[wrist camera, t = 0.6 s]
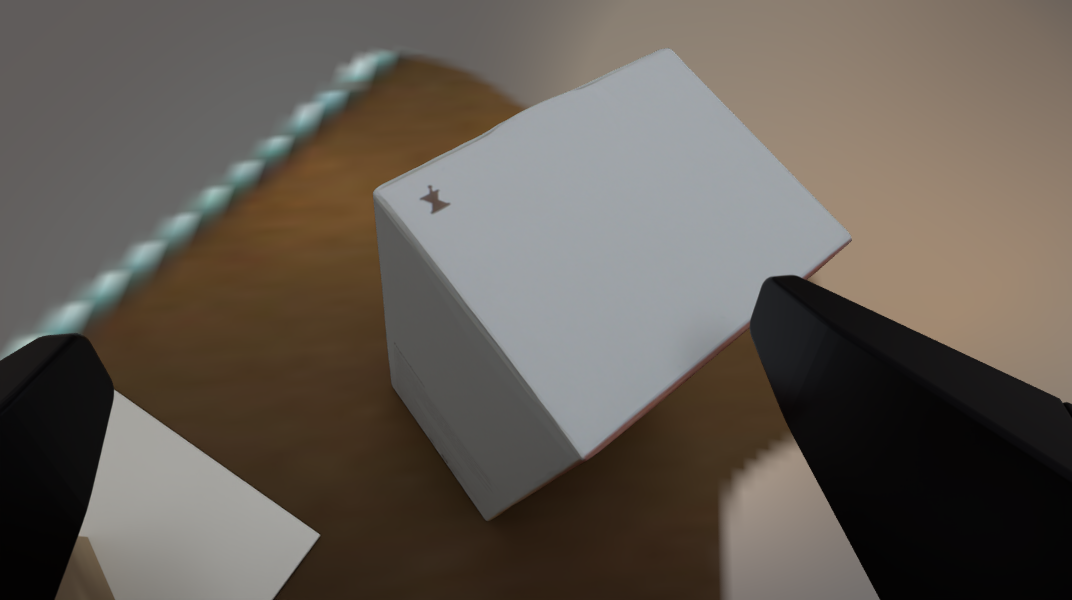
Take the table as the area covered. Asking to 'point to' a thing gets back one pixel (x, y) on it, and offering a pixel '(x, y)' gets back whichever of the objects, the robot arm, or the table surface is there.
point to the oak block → (84, 576)
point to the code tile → (183, 520)
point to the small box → (581, 270)
